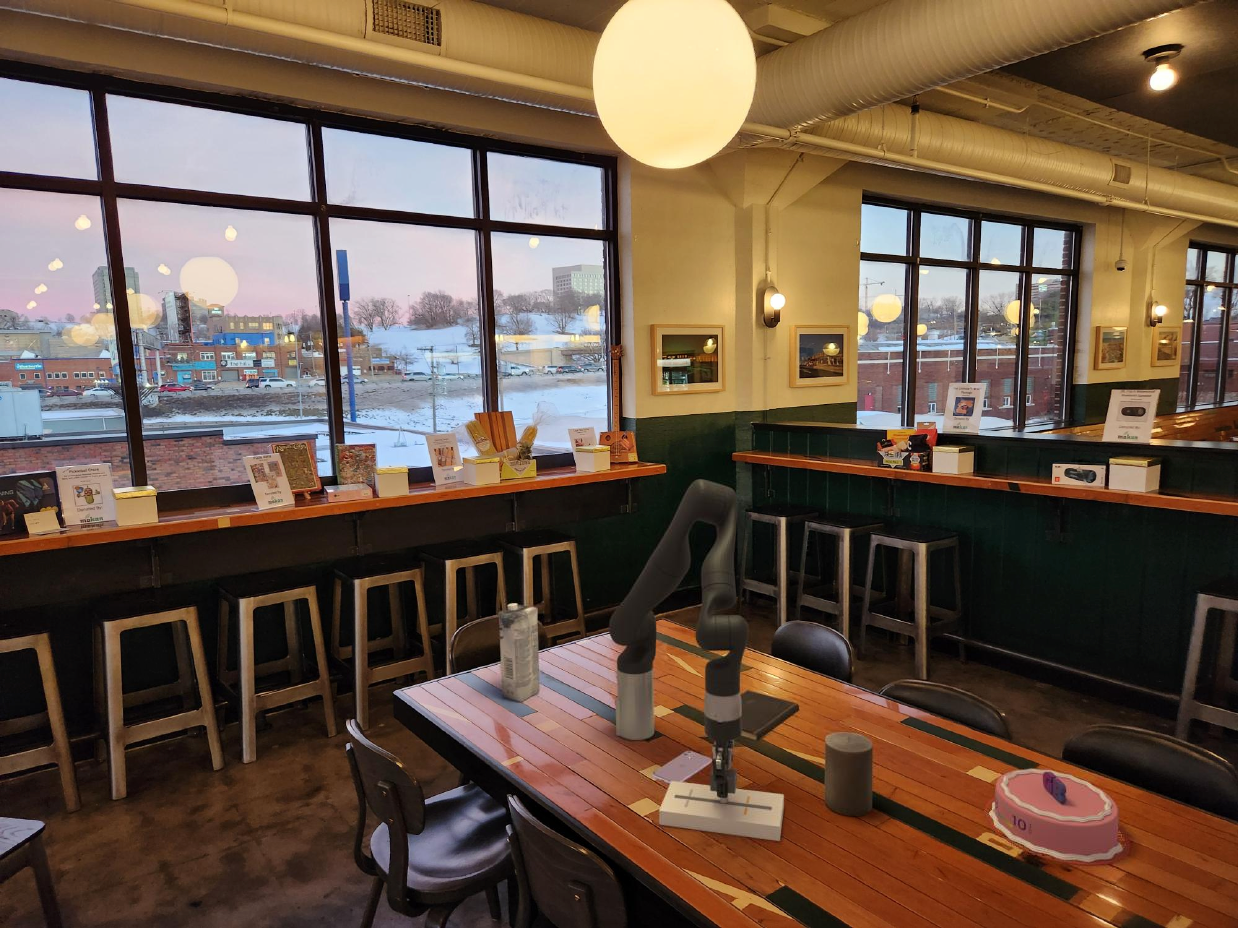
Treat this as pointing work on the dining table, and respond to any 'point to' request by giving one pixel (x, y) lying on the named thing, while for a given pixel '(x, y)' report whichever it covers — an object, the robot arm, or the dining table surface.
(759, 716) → the hardcover book
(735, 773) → the fader
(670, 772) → the mobile phone
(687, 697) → the dining table surface
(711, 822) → the dimmer panel
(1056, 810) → the cake
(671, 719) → the dining table surface
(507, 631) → the juice carton
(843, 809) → the pillar candle
